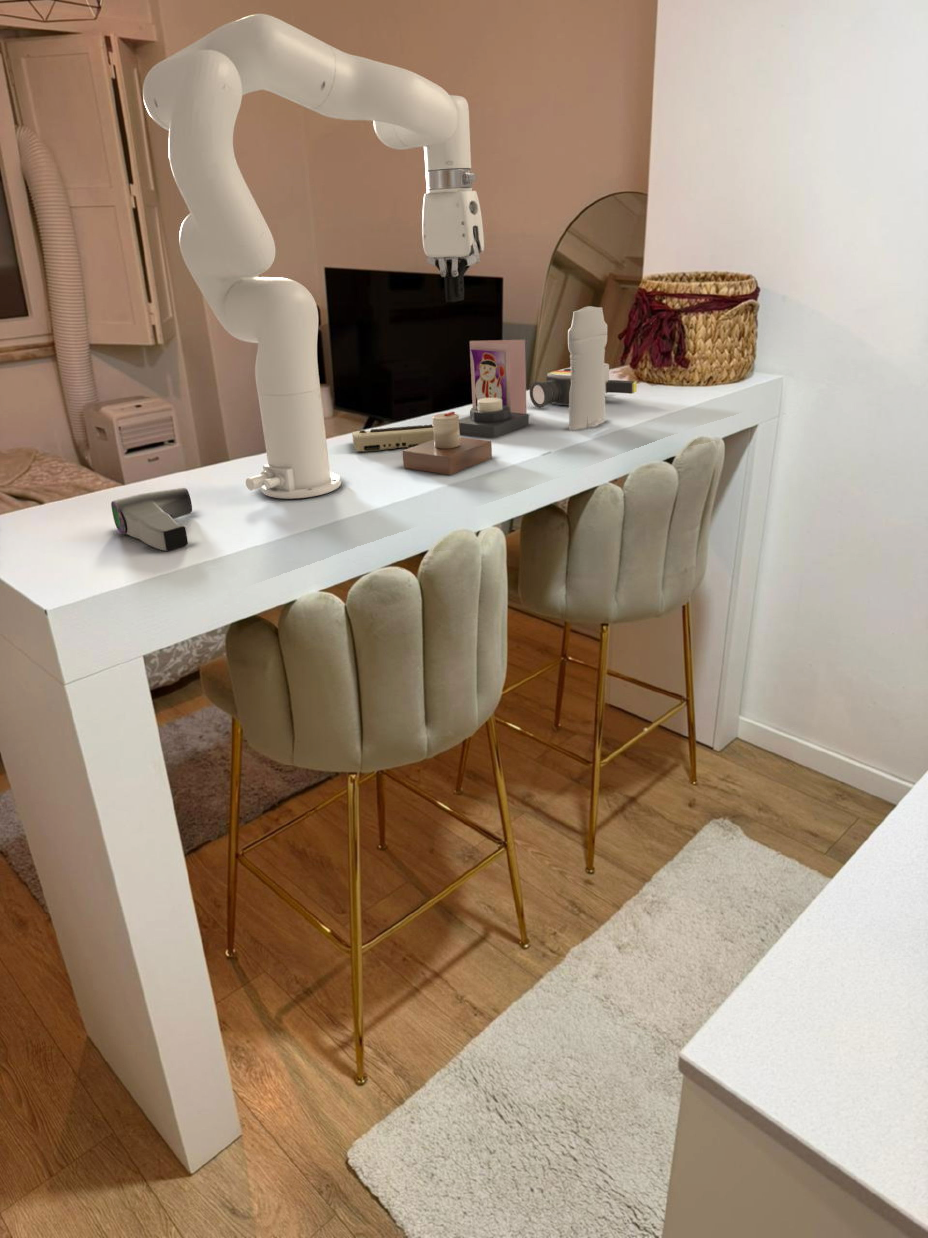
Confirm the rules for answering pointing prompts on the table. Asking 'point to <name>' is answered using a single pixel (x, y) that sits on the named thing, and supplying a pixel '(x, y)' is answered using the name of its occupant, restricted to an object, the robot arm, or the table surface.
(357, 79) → the robot arm
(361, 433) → the computer
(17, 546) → the table surface
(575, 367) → the tall pale column
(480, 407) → the power button
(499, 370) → the greeting card
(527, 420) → the grey square plinth
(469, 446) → the brown flat block
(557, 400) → the film camera
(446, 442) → the dial
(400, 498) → the table surface
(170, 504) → the infrared thermometer
